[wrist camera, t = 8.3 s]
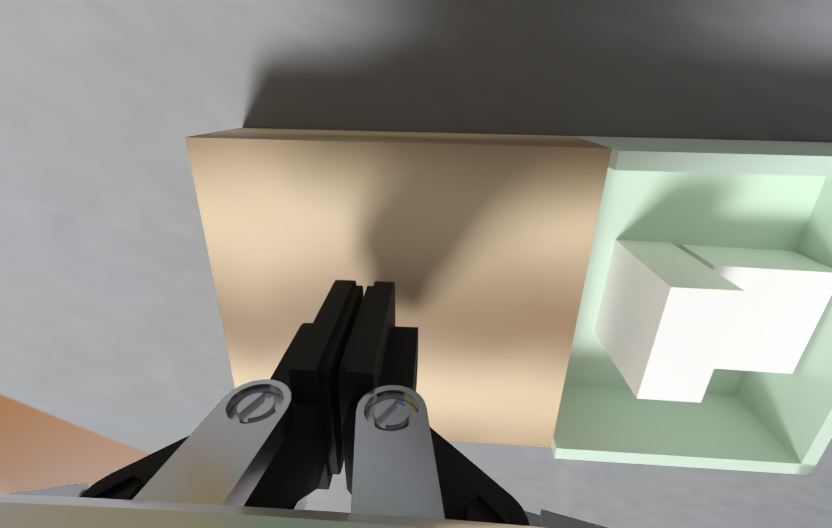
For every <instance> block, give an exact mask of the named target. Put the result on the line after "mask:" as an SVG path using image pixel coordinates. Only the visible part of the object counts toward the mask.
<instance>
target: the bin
mask: <svg viewBox="0 0 832 528" xmlns="http://www.w3.org/2000/svg"><path fill="white" fill-rule="evenodd" d="M575 137H578V138H581V139H584V140H588V141H591V142H594V143H597V144H600V145H603V146H606V147H609V148H612V150H611V155H610V160H609V165H608V170H607V174H606V179H605V184H604V189H603V194H602V199H601V204H600V209H599V214H598V219H597V224H596V229H595V234H594V239H593V243H592V248H591V253H590V258H589V263H588V268H587V273H586V278H585V283H584V288H583V293H582V298H581V303H580V308H579V312H578V317H577V322H576V327H575V332H574V337H573V342H572V347H571V352H570V357H569V362H568V367H567V372H566V376H565V381H564V386H563V391H562V396H561V401H560V406H559V411H558V416H557V421H556V426H555V431H554V436H553V441H552V445H551V449H552V452H553V455H554V458H558V459H573V460H588V461H604V462H619V463H634V464H650V465H665V466H680V467H695V468H711V469H726V470H741V471H757V472H772V473H787V474H803V475H811V473H812V471H813V470H814V468H815V466H816V464H817V463H818V461H819V459H820V457H821V456H822V454H823V452H824V450H825V448H826V447H827V445H828V443H829V441H830V440H831V438H832V296H831V298H830V300H829V302H828V304H827V306H826V308H825V310H824V312H823V314H822V316H821V318H820V319H819V321H818V323H817V325H816V327H815V329H814V331H813V333H812V335H811V337H810V339H809V341H808V343H807V345H806V347H805V349H804V351H803V353H802V355H801V357H800V359H799V361H798V363H797V365H796V367H795V369H794V371H793V373H792V374H785V373H771V372H756V371H742V370H727V369H714V370H713V373H712V376H711V378H710V381H709V383H708V386H707V388H706V391H705V394H704V396H703V399H702V401H701V403H698V402H682V401H666V400H650V399H637V398H636V397H635V395H634V394H633V392H632V390H631V389H630V387H629V386H628V384H627V382H626V381H625V379H624V378H623V376H622V375H621V373H620V371H619V370H618V368H617V367H616V365H615V363H614V362H613V360H612V359H611V357H610V356H609V354H608V352H607V351H606V349H605V348H604V346H603V345H602V343H601V341H600V340H599V338H598V337H597V335H596V333H595V332H594V329H595V324H596V320H597V316H598V312H599V307H600V303H601V299H602V294H603V290H604V286H605V282H606V277H607V273H608V269H609V264H610V260H611V256H612V252H613V247H614V243H615V240H633V241H656V242H671V243H672V244H674V245H675V246H677V247H678V248H680V247H681V244H682V245H699V246H717V247H735V248H753V249H771V250H789V251H795V252H797V253H799V254H801V255H804V256H806V257H808V258H810V259H812V260H815V261H817V262H819V263H821V264H824V265H826V266H828V267H830V268H832V142H801V141H760V140H719V139H678V138H637V137H597V136H575Z"/></svg>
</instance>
